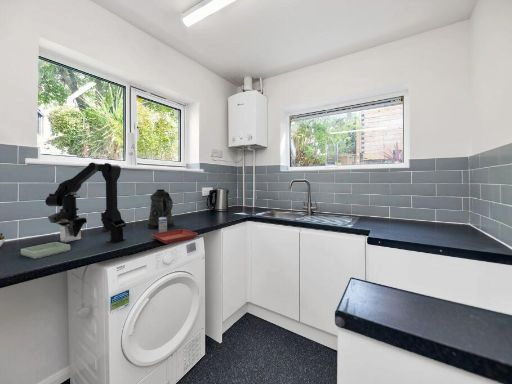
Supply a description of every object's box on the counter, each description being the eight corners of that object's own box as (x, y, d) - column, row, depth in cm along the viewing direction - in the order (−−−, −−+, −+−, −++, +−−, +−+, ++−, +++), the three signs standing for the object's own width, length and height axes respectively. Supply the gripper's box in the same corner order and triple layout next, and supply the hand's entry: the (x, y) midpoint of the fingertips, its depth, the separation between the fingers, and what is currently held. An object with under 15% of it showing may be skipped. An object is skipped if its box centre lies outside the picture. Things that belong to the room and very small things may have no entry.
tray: (70, 250, 100) (70, 244, 100) (35, 259, 89) (34, 252, 89) (55, 247, 105) (55, 241, 105) (20, 254, 94) (20, 249, 94)
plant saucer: (150, 239, 120) (150, 233, 120) (182, 233, 132) (182, 228, 132) (164, 246, 107) (164, 239, 107) (198, 239, 119) (198, 233, 119)
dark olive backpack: (156, 223, 161) (155, 188, 160) (182, 224, 158) (181, 189, 157) (141, 228, 145) (140, 189, 143) (170, 229, 142) (169, 190, 141)
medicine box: (158, 231, 137) (158, 217, 136) (166, 230, 138) (166, 216, 138) (158, 234, 129) (158, 219, 129) (167, 233, 131) (166, 219, 131)
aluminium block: (81, 238, 120) (80, 224, 119) (65, 242, 114) (64, 226, 113) (76, 238, 122) (75, 223, 121) (60, 241, 115) (59, 225, 115)
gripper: (40, 207, 113) (42, 237, 114) (60, 209, 106) (62, 242, 106) (66, 205, 123) (67, 233, 124) (86, 206, 116) (88, 236, 116)
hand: (70, 236), depth 118 cm, fingers open, 8 cm apart
